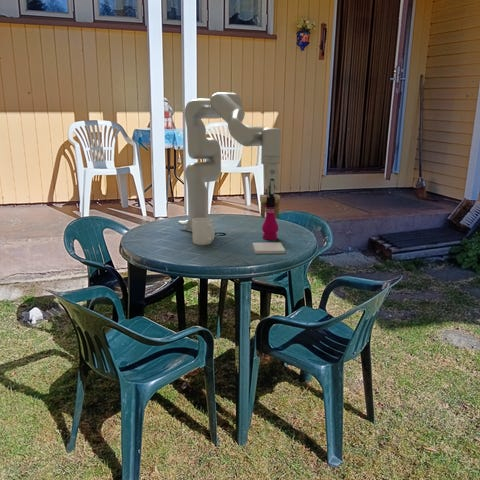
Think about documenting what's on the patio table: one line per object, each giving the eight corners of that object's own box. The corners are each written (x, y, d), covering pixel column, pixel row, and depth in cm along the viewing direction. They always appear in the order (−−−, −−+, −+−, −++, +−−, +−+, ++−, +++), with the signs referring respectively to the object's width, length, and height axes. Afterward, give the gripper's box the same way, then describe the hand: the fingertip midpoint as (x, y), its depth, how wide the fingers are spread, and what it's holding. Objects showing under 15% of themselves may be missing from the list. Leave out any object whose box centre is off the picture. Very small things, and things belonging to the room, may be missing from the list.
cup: (203, 239, 218) (203, 216, 215) (221, 244, 209) (221, 221, 206) (188, 242, 212) (188, 219, 209) (206, 248, 204) (206, 224, 201)
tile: (255, 253, 197) (255, 250, 196) (252, 245, 208) (252, 242, 208) (285, 253, 198) (285, 250, 197) (280, 245, 209) (280, 242, 209)
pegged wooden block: (279, 217, 197) (280, 196, 195) (261, 217, 197) (261, 196, 194) (277, 215, 202) (278, 194, 200) (259, 215, 201) (260, 194, 199)
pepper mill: (276, 240, 216) (278, 195, 211) (260, 239, 218) (261, 194, 212) (278, 236, 223) (280, 192, 218) (263, 235, 224) (264, 192, 219)
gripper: (283, 162, 185) (282, 209, 190) (277, 158, 202) (275, 201, 207) (263, 162, 185) (262, 210, 190) (258, 157, 201) (258, 201, 206)
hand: (269, 205), depth 198 cm, fingers closed on pegged wooden block, 5 cm apart
